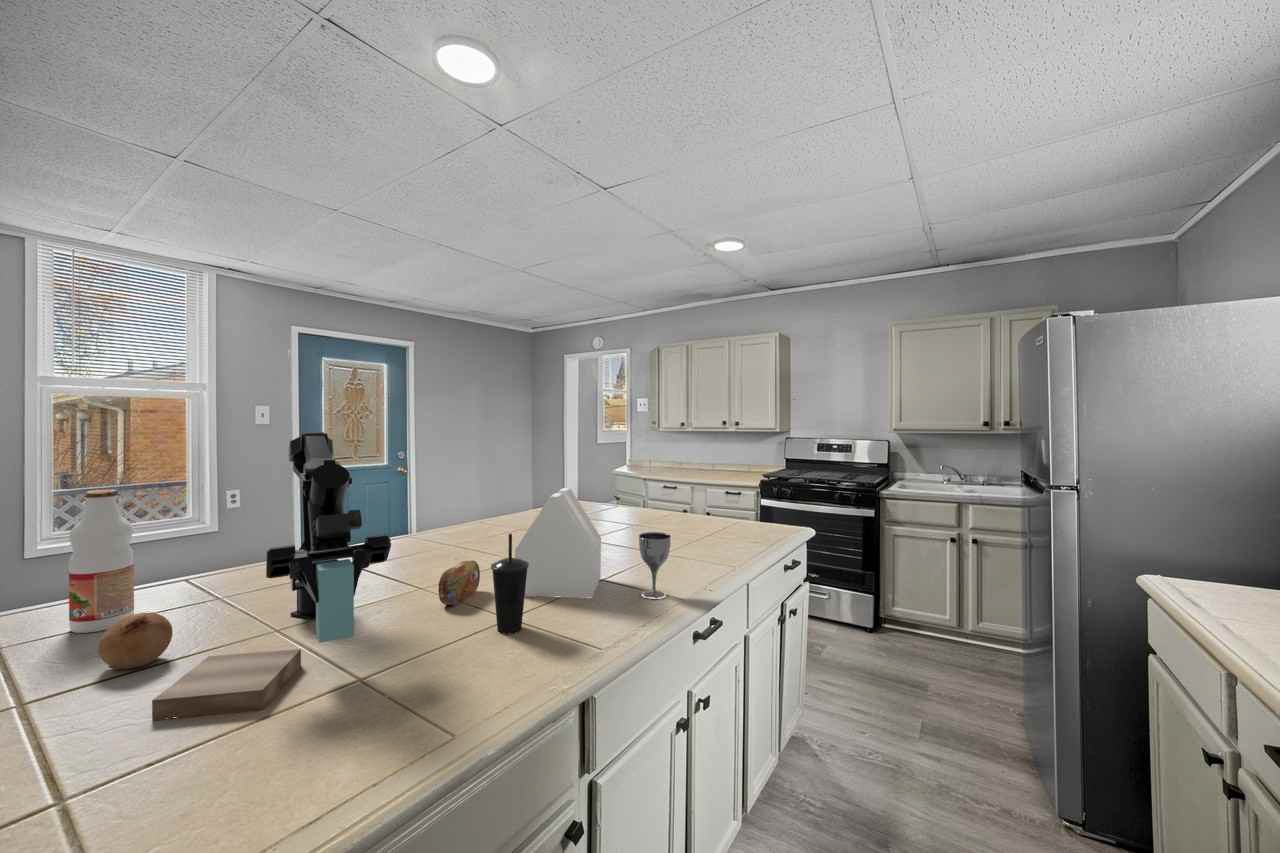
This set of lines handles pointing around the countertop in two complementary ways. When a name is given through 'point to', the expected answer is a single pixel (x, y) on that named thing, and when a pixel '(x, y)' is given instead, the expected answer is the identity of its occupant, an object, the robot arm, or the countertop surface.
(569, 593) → the milk carton
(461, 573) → the tin
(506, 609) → the drinking cup
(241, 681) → the walnut base
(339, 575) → the teal block
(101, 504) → the fruit juice
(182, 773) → the countertop surface
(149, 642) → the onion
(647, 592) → the wine glass
